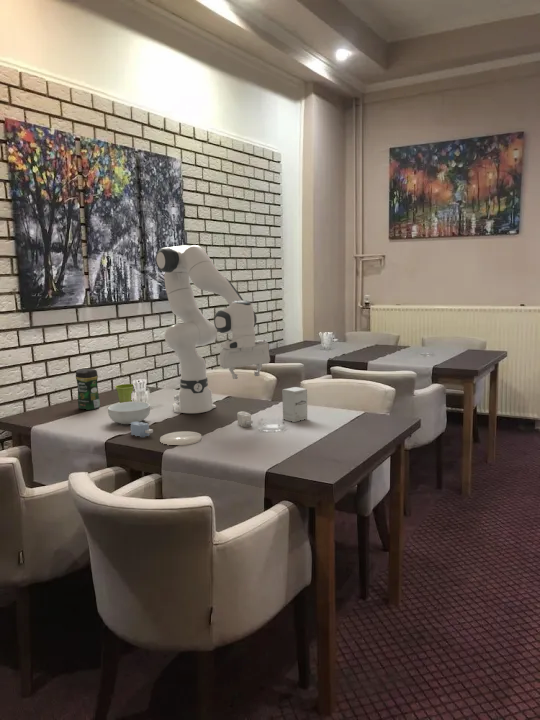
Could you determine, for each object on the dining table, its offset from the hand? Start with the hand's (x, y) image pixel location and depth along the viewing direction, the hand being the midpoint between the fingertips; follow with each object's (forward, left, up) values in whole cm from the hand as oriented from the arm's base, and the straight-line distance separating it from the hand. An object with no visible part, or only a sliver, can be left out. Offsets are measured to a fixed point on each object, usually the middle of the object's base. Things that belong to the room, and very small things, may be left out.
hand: (246, 377), depth 227 cm
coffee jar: (-64, -53, -19) cm, 85 cm away
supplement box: (+2, +20, -19) cm, 28 cm away
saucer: (+7, -29, -19) cm, 36 cm away
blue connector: (-7, -41, -19) cm, 46 cm away
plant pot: (-64, -36, -19) cm, 76 cm away
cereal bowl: (-28, -41, -19) cm, 53 cm away
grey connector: (-1, -1, -19) cm, 19 cm away
